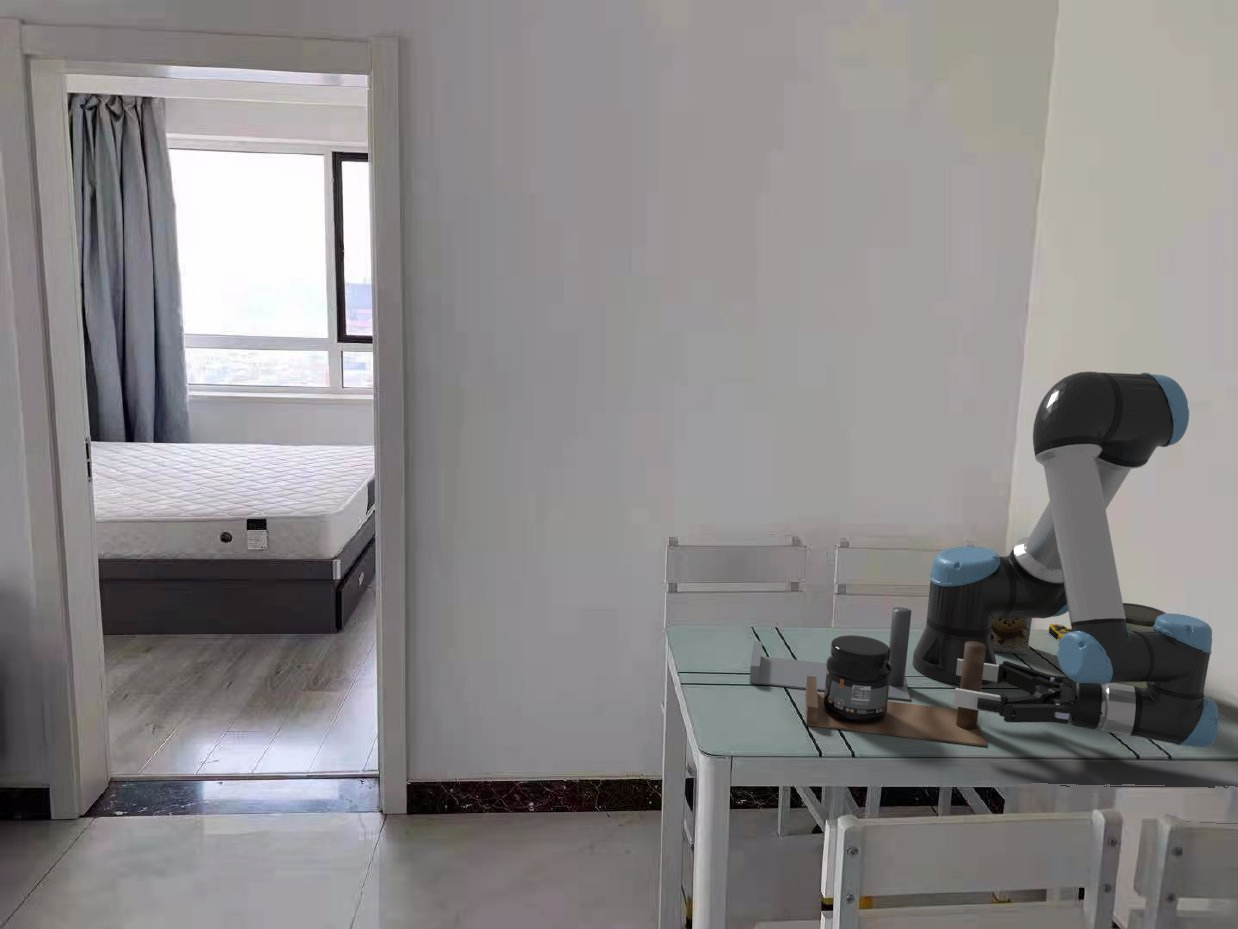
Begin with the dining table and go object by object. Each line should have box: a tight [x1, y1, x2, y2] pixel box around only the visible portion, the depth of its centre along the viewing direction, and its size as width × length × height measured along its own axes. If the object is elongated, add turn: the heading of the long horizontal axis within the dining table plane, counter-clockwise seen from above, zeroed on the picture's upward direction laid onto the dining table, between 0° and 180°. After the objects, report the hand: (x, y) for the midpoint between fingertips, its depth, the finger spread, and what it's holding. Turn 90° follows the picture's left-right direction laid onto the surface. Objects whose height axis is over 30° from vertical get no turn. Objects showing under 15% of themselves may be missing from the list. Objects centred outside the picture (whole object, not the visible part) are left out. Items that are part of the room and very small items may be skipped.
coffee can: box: [1118, 602, 1168, 688], centre depth 176 cm, size 10×10×14 cm
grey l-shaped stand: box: [749, 606, 912, 702], centre depth 172 cm, size 28×13×14 cm, turn 79°
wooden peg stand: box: [805, 641, 988, 747], centre depth 156 cm, size 28×13×14 cm, turn 79°
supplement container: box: [823, 634, 891, 724], centre depth 157 cm, size 10×10×12 cm
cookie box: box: [991, 618, 1033, 655], centre depth 192 cm, size 9×6×16 cm
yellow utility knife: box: [1048, 623, 1072, 642], centre depth 199 cm, size 5×2×15 cm
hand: (955, 681), depth 154 cm, fingers open, 13 cm apart
